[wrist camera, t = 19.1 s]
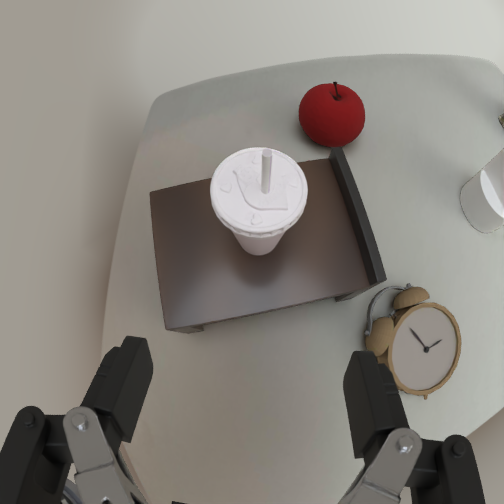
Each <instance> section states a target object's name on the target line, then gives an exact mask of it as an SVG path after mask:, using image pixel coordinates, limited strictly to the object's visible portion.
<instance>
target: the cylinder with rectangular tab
mask: <svg viewBox="0 0 504 504" xmlns="http://www.w3.org/2000/svg"><path fill="white" fill-rule="evenodd" d="M460 201H461V206H462V209H463V212H464V214H465V216H466V218H467V220H468V221H469V222H470V223H471V225H472V226H473V227H474V228H476V229H477V230H478V231H480V232H482V233H491V232H493V231H495V230H496V229H498V228H500V227H501V226H503V225H504V148H503V149H502V150H501V151H500V152H499V153H498V154H497V155H496V156H495V157H494V158H493V159H492V160H491V161H490V162H489V163H488V164H487V165H486V166H485V167H484V168H482V169H481V170H480V171H479V172H478V173H477V174H476V175H475V176H474V177H473V178H472V179H471V180H469V181H468V182H467V183H466V184H465V185H464V186H463V188H462V190H461V193H460Z"/></svg>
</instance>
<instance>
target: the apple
mask: <svg viewBox="0 0 504 504" xmlns="http://www.w3.org/2000/svg"><path fill="white" fill-rule="evenodd" d="M333 83H334V84H331V83H329V84H321V85H318V86H315V87H313V88H312V89H310V90H309V91H308V92H307V93H306V94H305V95H304V97H303V98H302V101H301V103H300V106H299V121H300V124H301V126H302V128H303V130H304V131H305V133H306V134H307V135H308V136H309V137H310V138H311V139H312V140H313V141H314V142H316V143H318V144H320V145H324V146H327V147H342V146H345V145H346V144H348V143H350V142H352V141H353V140H354V139H355V138H356V137H357V136H358V135H359V134H360V133H361V131H362V129H363V127H364V122H365V110H364V105H363V103H362V100H361V99H360V97H359V96H358V95H357V94H356V93H355V92H354V91H353V90H351V89H350V88H348V87H346V86H344V85H339V84H337V82H333Z"/></svg>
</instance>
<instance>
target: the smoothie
mask: <svg viewBox="0 0 504 504" xmlns="http://www.w3.org/2000/svg"><path fill="white" fill-rule="evenodd" d="M307 193H308V188H307V181H306V178H305V175H304V173H303V171H302V169H301V168H300V167H299V165H298V164H297V163H296V162H295V161H294V160H293V159H292V158H290V157H289V156H287V155H286V154H284V153H282V152H280V151H277V150H274V149H270V148H264V147H254V148H247V149H243V150H240V151H238V152H235V153H233V154H232V155H230V156H229V157H227V158H226V159H225V160H224V161H223V162H221V164H220V165H219V166H218V167H217V169H216V171H215V172H214V174H213V177H212V180H211V185H210V194H211V201H212V207H213V209H214V211H215V213H216V216H217V217H218V218H219V219H220V221H221V222H222V223H223V224H224V225H225V226H226V227H228V228H229V229H231V231H232V232H233V234H234V235H235V237H236V239H237V240H238V242H239V243H240V245H241V247H242V248H243V249H244V250H245V251H246V252H248V253H250V254H252V255H264V254H267V253H269V252H271V251H272V250H273V249H274V248H275V246H276V245H277V243H278V242H279V240H280V239H281V237H282V236H283V234H284V233H285V231H286V230H288V229H289V228H290V227H291V226H293V225H294V224H295V223H296V222H297V220H298V219H299V218H300V216H301V215H302V213H303V211H304V208H305V205H306V199H307Z"/></svg>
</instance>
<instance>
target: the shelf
mask: <svg viewBox="0 0 504 504" xmlns="http://www.w3.org/2000/svg"><path fill="white" fill-rule="evenodd" d="M297 164H298V165H299V167H300V168H301V169H302V171H303V173H304V175H305V178H306V181H307V188H308V193H307V199H306V205H305V208H304V211H303V213H302V215H301V216H300V218H299V219H298V220H297V222H296V223H295V224H294V225H293V226H291V227H290V228H289V229H288V230H286V231H285V233H284V234H283V236H282V237H281V239H280V240H279V242H278V243H277V245H276V246H275V248H274V249H273V250H272V251H271V252H269V253H267V254H264V255H252V254H250V253H248V252H246V251H245V250H244V249H243V248H242V247H241V245H240V243H239V242H238V240H237V239H236V237H235V235H234V234H233V232H232V231H231V229H229V228H228V227H226V226H225V225H224V224H223V223H222V222H221V221H220V219H219V218H218V217H217V216H216V213H215V211H214V209H213V207H212V201H211V194H210V185H211V180H212V178H209V179H205V180H200V181H195V182H191V183H186V184H182V185H177V186H173V187H169V188H165V189H160V190H156V191H152V192H150V205H151V217H152V228H153V239H154V248H155V257H156V266H157V274H158V281H159V289H160V296H161V303H162V309H163V316H164V322H165V328H166V330H169V331H175V332H181V333H194V332H200V331H204V329H203V325H205V324H210V323H216V322H221V321H226V320H231V319H237V318H242V317H247V316H252V315H256V314H261V313H266V312H271V311H275V310H280V309H284V308H289V307H293V306H298V305H302V304H306V303H311V302H315V301H319V300H323V299H328V298H332V297H335V298H336V302H340V301H343V300H347V299H351V298H353V297H355V296H357V295H359V294H361V293H363V292H365V291H367V290H369V289H371V288H372V287H374V286H376V285H378V284H380V283H382V282H384V281H386V280H387V278H386V275H385V271H384V268H383V264H382V261H381V257H380V254H379V251H378V247H377V244H376V241H375V238H374V235H373V232H372V229H371V225H370V222H369V219H368V217H367V214H366V211H365V208H364V205H363V202H362V199H361V197H360V194H359V191H358V188H357V186H356V183H355V180H354V178H353V175H352V173H351V170H350V167H349V165H348V162H347V160H346V157H345V155H344V153H343V150H342V148H341V147H333V148H332V150H331V153H330V156H329V158H327V159H319V160H312V161H305V162H299V163H297Z"/></svg>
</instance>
